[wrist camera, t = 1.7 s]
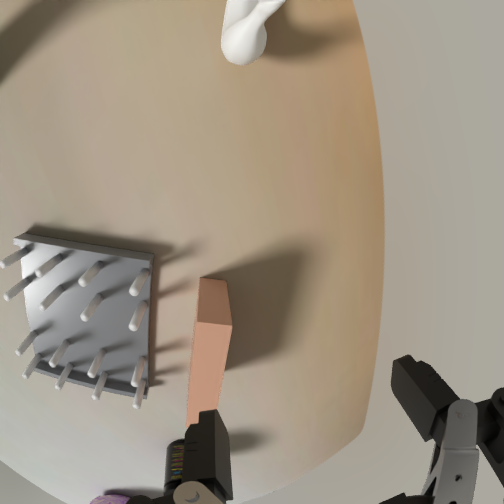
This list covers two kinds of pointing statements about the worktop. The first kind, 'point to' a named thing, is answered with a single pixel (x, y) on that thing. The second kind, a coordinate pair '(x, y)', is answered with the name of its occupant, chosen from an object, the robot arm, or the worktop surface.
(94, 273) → the rack
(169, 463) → the supplement container
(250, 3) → the white plaster fruit
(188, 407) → the block
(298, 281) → the worktop surface
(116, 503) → the bowl of food
